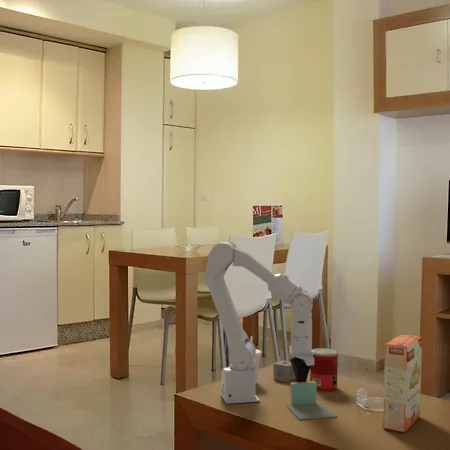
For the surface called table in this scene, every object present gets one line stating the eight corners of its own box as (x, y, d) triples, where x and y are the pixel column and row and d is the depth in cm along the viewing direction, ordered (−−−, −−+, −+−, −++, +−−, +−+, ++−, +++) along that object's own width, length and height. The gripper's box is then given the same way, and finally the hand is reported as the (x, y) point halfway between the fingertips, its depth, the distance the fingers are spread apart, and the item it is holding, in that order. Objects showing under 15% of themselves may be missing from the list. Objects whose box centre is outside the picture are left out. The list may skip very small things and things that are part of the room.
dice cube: (295, 378, 187) (295, 362, 187) (287, 382, 183) (287, 366, 183) (282, 375, 190) (282, 360, 190) (273, 379, 186) (273, 363, 186)
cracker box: (407, 434, 142) (408, 346, 141) (381, 429, 145) (383, 343, 144) (421, 416, 154) (423, 335, 153) (398, 412, 157) (399, 333, 156)
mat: (299, 420, 151) (299, 419, 151) (287, 407, 160) (287, 406, 160) (336, 417, 153) (336, 416, 153) (322, 404, 163) (322, 403, 163)
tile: (291, 406, 161) (292, 384, 161) (289, 404, 163) (290, 382, 163) (316, 404, 163) (316, 382, 163) (314, 402, 164) (314, 381, 164)
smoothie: (263, 380, 184) (264, 335, 184) (257, 386, 178) (258, 340, 178) (243, 378, 186) (244, 334, 186) (237, 384, 180) (237, 338, 180)
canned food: (339, 392, 174) (339, 354, 174) (311, 391, 174) (312, 354, 174) (335, 384, 182) (335, 348, 181) (308, 383, 182) (308, 347, 181)
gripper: (325, 340, 158) (324, 392, 158) (306, 329, 172) (305, 376, 173) (299, 342, 156) (299, 393, 157) (282, 330, 171) (282, 378, 171)
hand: (301, 384), depth 165 cm, fingers closed
